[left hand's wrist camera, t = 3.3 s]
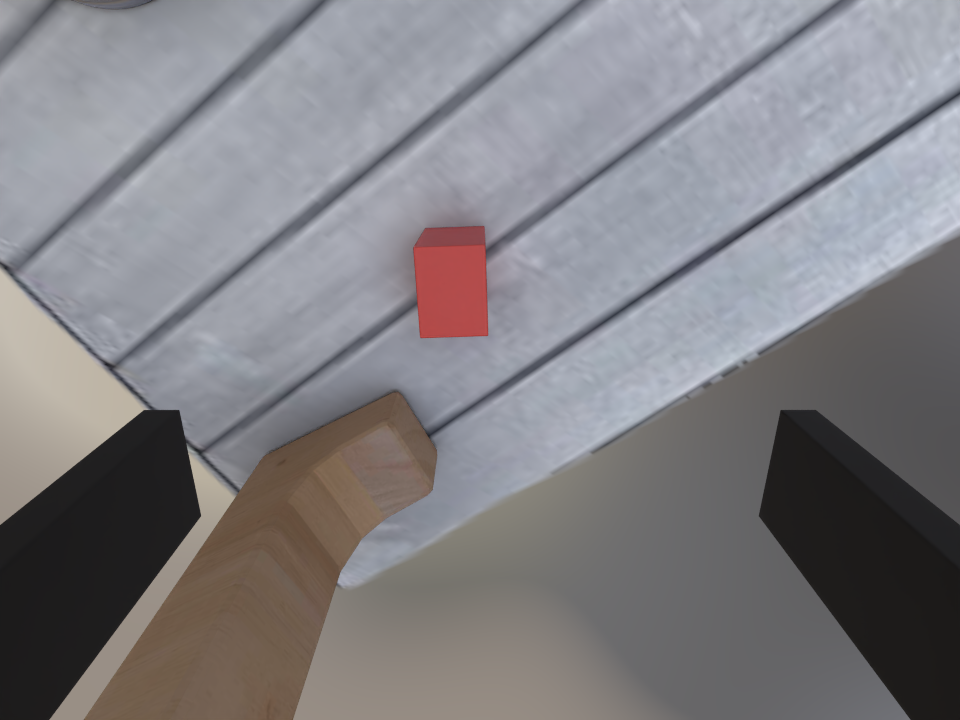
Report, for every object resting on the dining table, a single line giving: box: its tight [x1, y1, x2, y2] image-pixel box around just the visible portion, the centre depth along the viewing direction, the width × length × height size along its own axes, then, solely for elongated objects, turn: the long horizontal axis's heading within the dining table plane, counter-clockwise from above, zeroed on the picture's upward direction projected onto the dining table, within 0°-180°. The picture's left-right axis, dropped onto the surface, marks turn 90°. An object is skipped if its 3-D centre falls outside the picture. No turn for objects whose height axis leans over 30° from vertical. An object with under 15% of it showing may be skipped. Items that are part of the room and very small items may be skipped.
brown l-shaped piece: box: [84, 392, 437, 720], centre depth 39 cm, size 8×15×30 cm, turn 118°
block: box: [413, 226, 488, 338], centre depth 43 cm, size 5×6×9 cm
